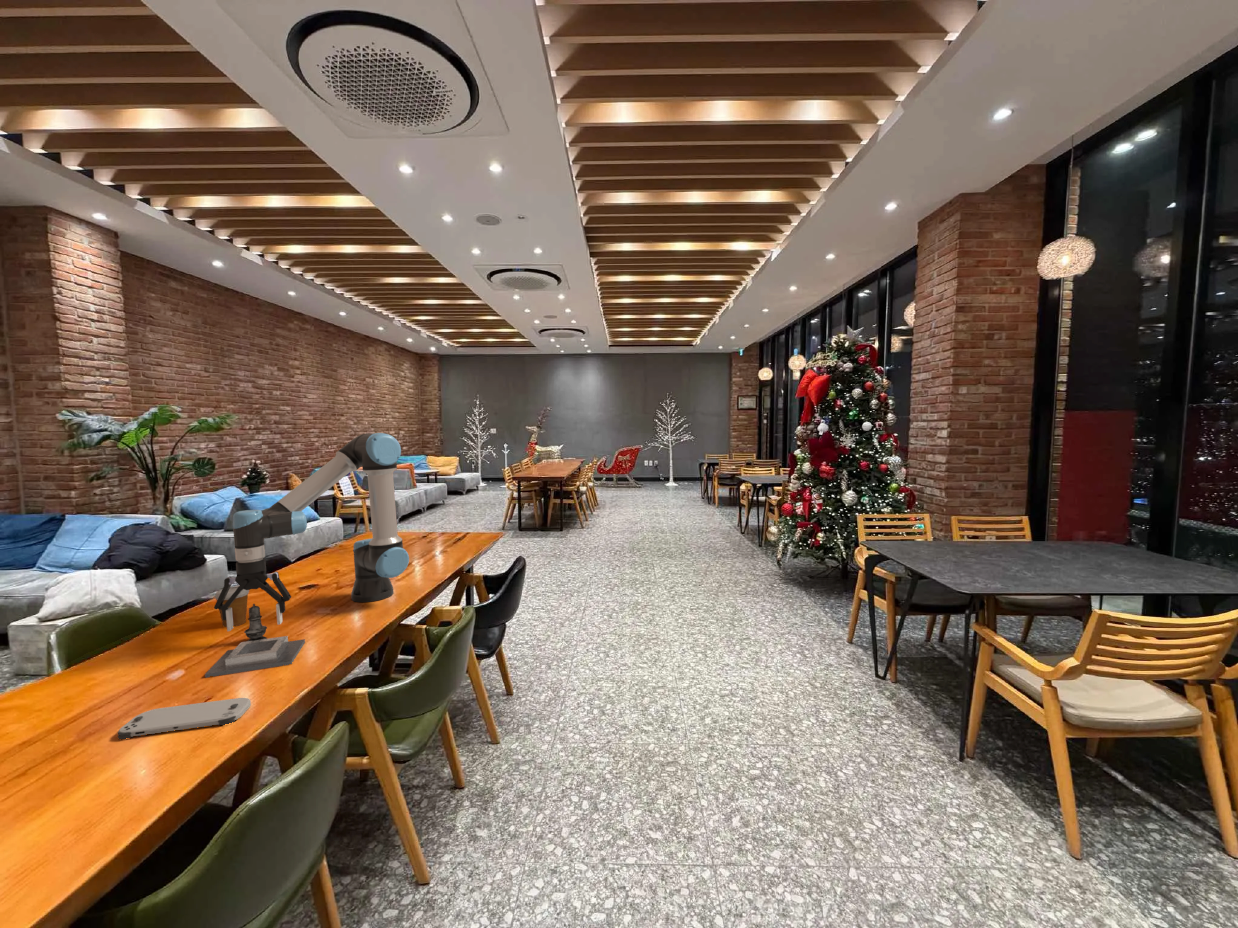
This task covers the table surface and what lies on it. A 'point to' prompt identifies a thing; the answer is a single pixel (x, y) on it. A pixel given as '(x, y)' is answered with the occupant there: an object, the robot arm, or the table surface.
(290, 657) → the collar plate
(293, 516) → the robot arm
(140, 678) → the table surface
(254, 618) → the dark grey chess piece
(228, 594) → the disposable coffee cup
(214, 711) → the handheld gaming console
